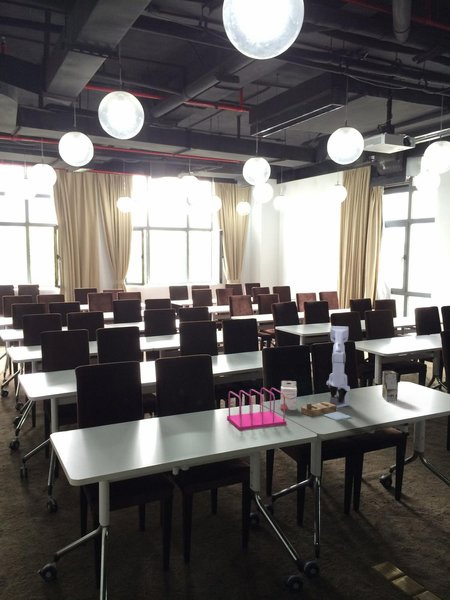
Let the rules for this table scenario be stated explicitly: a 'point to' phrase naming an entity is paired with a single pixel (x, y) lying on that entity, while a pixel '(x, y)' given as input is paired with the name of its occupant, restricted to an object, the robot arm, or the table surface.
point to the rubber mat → (337, 416)
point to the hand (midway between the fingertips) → (337, 401)
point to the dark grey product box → (336, 400)
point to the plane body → (318, 408)
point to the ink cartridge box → (289, 395)
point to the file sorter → (256, 414)
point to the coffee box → (390, 386)
